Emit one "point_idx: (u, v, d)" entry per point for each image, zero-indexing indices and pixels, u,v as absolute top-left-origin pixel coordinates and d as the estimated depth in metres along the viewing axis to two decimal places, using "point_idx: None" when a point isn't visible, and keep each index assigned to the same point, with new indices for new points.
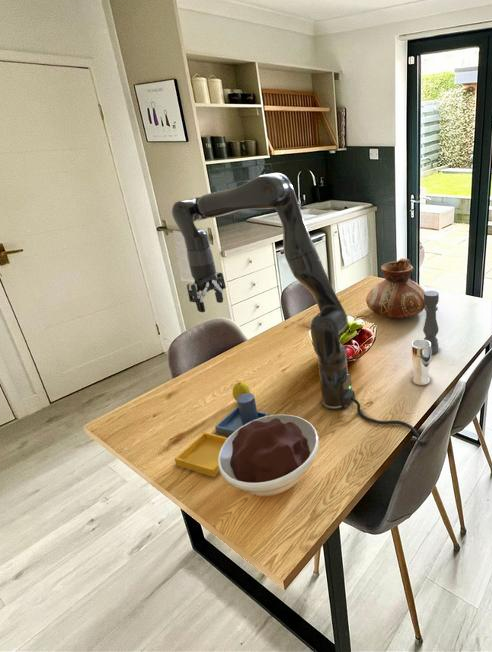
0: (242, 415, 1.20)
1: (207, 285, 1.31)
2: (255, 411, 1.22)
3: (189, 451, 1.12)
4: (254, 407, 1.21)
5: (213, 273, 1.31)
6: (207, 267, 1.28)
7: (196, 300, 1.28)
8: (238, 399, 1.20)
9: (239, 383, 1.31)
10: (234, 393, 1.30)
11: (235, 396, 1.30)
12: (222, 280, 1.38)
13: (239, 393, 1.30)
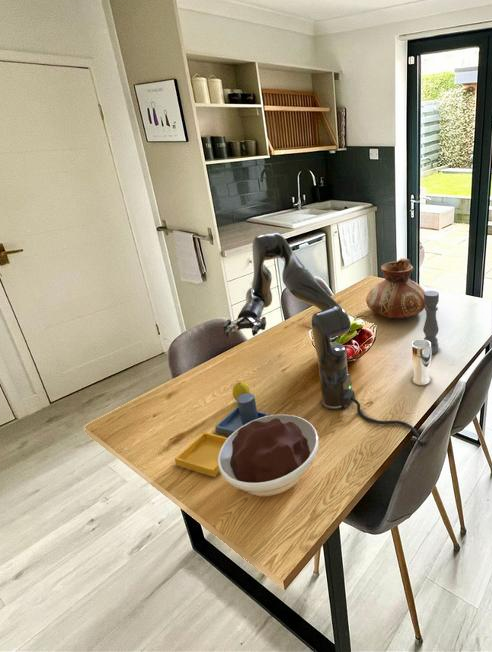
0: (242, 415, 1.20)
1: (240, 318, 1.43)
2: (255, 411, 1.22)
3: (189, 451, 1.12)
4: (254, 407, 1.21)
5: (247, 309, 1.46)
6: (244, 307, 1.49)
7: (224, 325, 1.40)
8: (238, 399, 1.20)
9: (239, 383, 1.31)
10: (234, 393, 1.30)
11: (235, 396, 1.30)
12: (262, 320, 1.43)
13: (239, 393, 1.30)
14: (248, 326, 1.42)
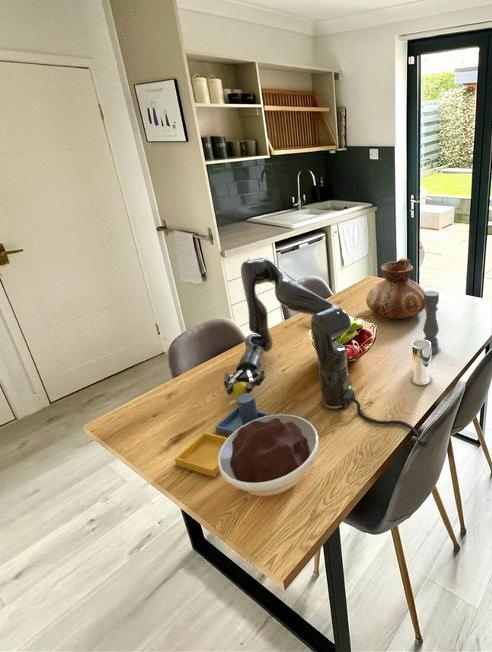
0: (242, 415, 1.20)
1: (239, 371, 1.37)
2: (255, 411, 1.22)
3: (189, 451, 1.12)
4: (254, 407, 1.21)
5: (246, 361, 1.40)
6: (243, 358, 1.42)
7: (225, 381, 1.33)
8: (238, 399, 1.20)
9: (239, 383, 1.31)
10: (234, 393, 1.30)
11: (235, 396, 1.30)
12: (259, 374, 1.36)
13: (239, 393, 1.30)
14: (247, 380, 1.36)
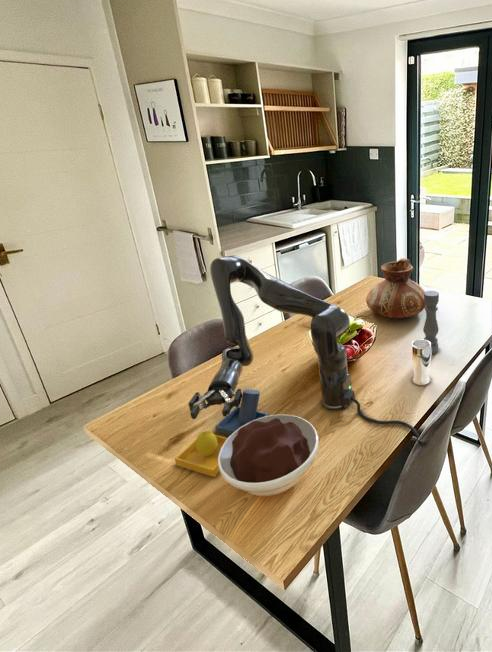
0: (242, 407, 1.21)
1: (211, 392, 1.19)
2: (255, 408, 1.22)
3: (189, 451, 1.12)
4: (255, 403, 1.22)
5: (219, 379, 1.22)
6: (216, 376, 1.25)
7: (190, 402, 1.16)
8: (244, 390, 1.23)
9: (203, 434, 1.08)
10: (197, 446, 1.08)
11: (198, 449, 1.08)
12: (237, 394, 1.19)
13: (203, 446, 1.07)
14: (219, 402, 1.18)
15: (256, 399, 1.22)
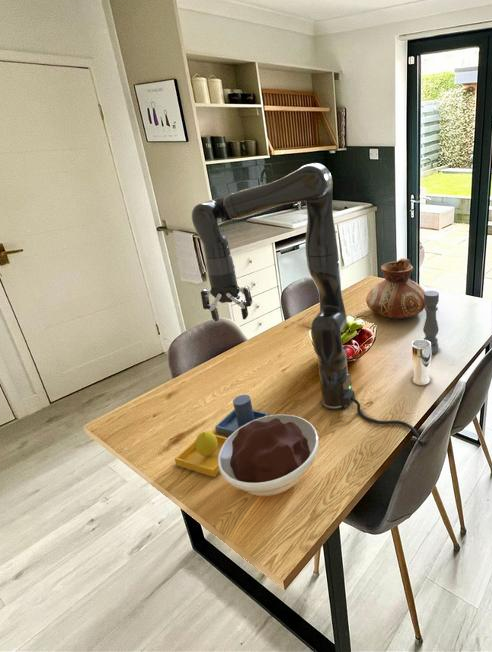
0: (239, 417, 1.20)
1: (218, 296, 1.19)
2: (251, 413, 1.21)
3: (189, 451, 1.12)
4: (250, 409, 1.21)
5: (221, 286, 1.16)
6: (213, 278, 1.15)
7: (204, 307, 1.21)
8: (234, 401, 1.19)
9: (203, 434, 1.08)
10: (197, 446, 1.08)
11: (198, 449, 1.08)
12: (246, 297, 1.21)
13: (203, 446, 1.07)
14: None
15: (249, 405, 1.20)
